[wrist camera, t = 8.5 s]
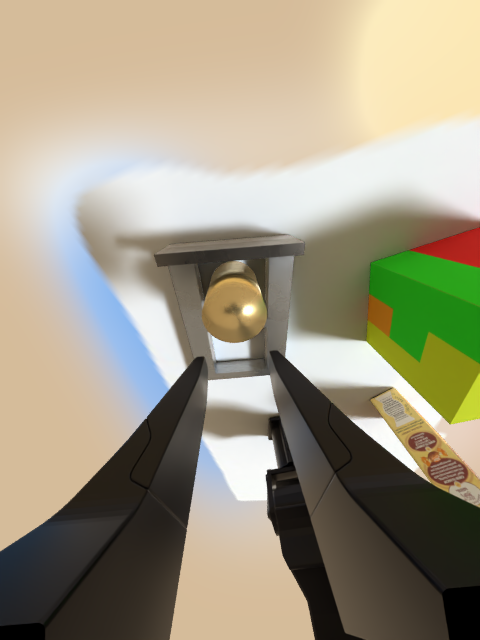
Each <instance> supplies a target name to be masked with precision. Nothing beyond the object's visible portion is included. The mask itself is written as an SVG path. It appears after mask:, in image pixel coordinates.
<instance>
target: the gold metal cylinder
mask: <svg viewBox="0 0 480 640" xmlns="http://www.w3.org/2000/svg"><path fill="white" fill-rule="evenodd" d="M266 320H267V309H266V306H265V303H264V300H263V297H262V294H261V291H260V288H259V285H258V282H257V279H256V276H255V274H254V272H253V270H252V269H251V268H250V267H249V266H247V265H246V264H244V263H242V262H237V261H230V262H226V263H223V264H222V265H220V266H219V267H217V269H216V270H215V271H214V273H213V275H212V277H211V281H210V284H209V288H208V291H207V295H206V298H205V302H204V305H203V309H202V321H203V324H204V326H205V328H206V329H207V331H208V332H209V333H210V334H211V335H212V336H214V337H215V338H217V339H219V340H221V341H225V342H230V343H238V342H244V341H247V340H249V339H252V338H253V337H255V336H256V335H257V334H259V332H260V331H261V330H262V329H263V327H264V326H265V323H266Z"/></svg>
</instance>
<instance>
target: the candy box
mask: <svg viewBox="0 0 480 640" xmlns="http://www.w3.org/2000/svg"><path fill="white" fill-rule="evenodd" d="M370 401H371V402H372V404H373V405H374V406H375V408H376V409H377V410H378V412H379V413H380V414H381V416H382V417H383V418H384V420H385V421H386V423H387V424H388V425H389V427H390V428H391V429H392V431H393V432H394V433H395V435H396V436H397V437H398V439H399V440H400V442H401V443H402V444H403V446H404V447H405V448H406V450H407V451H408V452H409V454H410V455H411V456H412V458H413V459H414V461H415V462H416V463H417V465H418V466H419V467H420V469H421V470H422V471H423V473H424V474H425V475H426V477H427V478H428V480H429V481H430V482H431V484H433V485H435V486H437V487H438V488H440V489H442V490H444V491H446V492H448V493H450V494H453V495H455V496H457V497H459V498H461V499H463V500H465V501H467V502H469V503H471V504H473V505H475V506H478V507H480V478H479V477H478V476H477V475H476V474H475V473H474V472H473V470H472V469H471V468H470V467H469V466H468V465H467V464H466V463H465V462H464V461H463V460H462V458H461V457H460V456H459V455H458V454H457V453H456V452H455V451H454V450H453V449H452V448H451V447H450V446H449V445H448V443H446V441H445V440H444V439H443V438H442V437H441V436H440V435H439V434H438V433H437V432H436V431H435V430H434V428H433V427H432V426H431V425H430V424H429V423H428V422H427V421H426V420H425V419H424V418H423V417H422V416H421V415H420V414H419V413H418V412H417V411H416V409H415V408H414V407H413V406H412V405H411V404H410V403H409V402H408V401H407V400H406V399H405V398H404V397H403V396H402V395H401V394H400V393H399V392H398V391H397V390H396V389H395V388H392V389H390V390H388V391H386V392H384V393H382V394H381V395H379V396H377V397H375V398H372V399H371V400H370Z"/></svg>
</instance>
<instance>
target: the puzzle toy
mask: <svg viewBox="0 0 480 640" xmlns="http://www.w3.org/2000/svg"><path fill="white" fill-rule="evenodd" d="M366 341H367V342H368V343H369V344H370V345H371V346H372V347H373V348H374V349H375V350H376V351H377V352H378V353H379V354H380V355H381V356H382V357H383V358H384V359H385V360H386V361H387V362H388V363H389V364H390V365H391V366H392V367H393V368H394V369H395V370H396V371H397V372H398V373H399V374H400V375H401V376H402V377H403V378H404V379H405V380H406V381H407V382H408V383H409V384H410V385H411V386H412V387H413V388H414V389H415V390H416V391H417V392H418V393H419V394H420V395H421V396H422V397H423V398H424V399H425V400H426V401H427V402H428V403H429V404H430V405H431V406H432V407H433V408H434V409H435V410H436V411H437V412H438V413H439V414H440V415H441V416H442V417H443V418H444V419H445V420H446V421H447V422H448V423H449V424H455V423H460V422H465V421H470V420H475V419H480V227H479V228H476V229H473V230H470V231H467V232H464V233H460V234H457V235H454V236H451V237H448V238H445V239H442V240H439V241H436V242H433V243H430V244H427V245H424V246H420V247H417V248H414V249H411V250H408V251H405V252H402V253H399V254H396V255H393V256H390V257H387V258H384V259H380V260H377V261H374V262H371V268H370V286H369V304H368V322H367V340H366Z"/></svg>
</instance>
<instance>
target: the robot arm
mask: <svg viewBox="0 0 480 640" xmlns="http://www.w3.org/2000/svg"><path fill="white" fill-rule="evenodd" d="M268 365H269V371H270V377H271V383H272V388H273V394H274V398H275V402H276V405H277V409H278V412H279V415H280V417H276V418H270V419H269V424H268V439H269V440H273V444H274V450H275V455H276V460H277V466H278V469H273V470H271V469H269V470H267V474H266V482H267V514H268V518H269V519H270V520H271V522H272V524H273V527H274V531H275V533H276V535H277V536H279V537H280V543H281V549H282V554H283V557H284V559H285V561H286V563H287V565H288V567H289V569H290V570H291V572H292V573H293V575H294V577H295V579H296V581H297V583H298V585H299V587H300V588H301V590H302V592H303V594H304V596H305V598H306V600H307V602H308V606H309V611H310V616H311V622H312V627H313V632H314V637H315V640H480V507H478V506H475V505H473V504H471V503H469V502H467V501H465V500H463V499H461V498H459V497H457V496H455V495H453V494H450V493H448V492H446V491H444V490H442V489H440V488H438V487H437V486H435V485H433V484H431V483H430V482H428V481H426V480H425V479H423V478H422V477H420V476H419V475H417V474H416V473H415V472H413V471H412V470H411V469H409V468H408V467H407V466H405V465H404V464H403V463H402V462H401V461H399V460H398V459H397V458H396V457H394V456H393V455H392V454H391V453H390V452H388V451H387V450H386V449H385V448H383V447H382V446H381V445H380V444H379V443H377V442H376V441H375V440H374V439H372V438H371V437H370V436H369V435H368V434H366V433H365V432H364V431H363V430H362V429H360V428H359V427H358V426H357V425H356V424H355V423H353V422H352V421H351V420H350V419H349V418H348V417H347V416H346V415H345V414H343V413H342V412H341V411H340V410H339V409H338V408H337V407H336V406H335V405H334V404H333V403H331V401H330V400H329V399H328V398H327V397H326V396H325V395H324V394H322V393H321V392H320V391H319V390H318V389H317V388H316V387H315V386H314V385H313V384H312V383H311V382H310V381H309V380H308V379H307V378H306V377H305V376H304V375H303V374H302V373H301V372H300V371H299V370H298V369H297V368H296V367H294V366H293V365H292V364H291V363H290V362H289V361H288V360H287V359H286V358H285V357H284V356H283V355H282V354H281V353H280V352H279V351H278V350H271V351H269V360H268ZM207 387H208V367H207V362H206V358H205V357H204V356H199V357H196V358H195V359H194V360H193V361H192V363H191V364H190V365H189V366H188V367H187V369H186V370H185V371H184V372H183V374H182V375H181V376H180V377H179V378H178V380H177V381H176V382H175V383H174V385H173V386H172V387H171V388H170V389H169V391H168V392H167V393H166V394H165V396H164V397H163V398H162V399H161V400H160V402H159V403H158V404H157V405H156V407H155V408H154V409H153V410H152V411H151V413H150V414H149V415H148V416H147V419H145V420H144V421H143V422H142V424H141V425H140V426H139V427H138V428H137V430H136V431H135V432H134V433H133V434H132V435H131V437H130V438H129V439H128V440H127V441H126V442H125V443H124V444H123V446H122V447H121V448H120V449H119V450H118V451H117V452H116V453H115V454H114V456H112V458H111V459H110V460H109V461H108V462H107V463H106V464H105V465H104V466H103V467H102V468H101V469H100V470H99V471H98V472H97V473H96V474H95V475H94V476H93V477H92V479H91V480H90V481H89V482H88V483H87V484H86V485H85V486H84V487H83V488H82V489H81V490H80V491H79V492H78V493H77V494H76V495H75V497H73V498H72V499H71V500H70V501H69V502H68V503H67V504H66V505H65V506H64V507H63V508H62V509H61V510H59V511H58V512H57V513H56V514H55V515H53V516H52V517H51V518H50V519H48V520H47V521H46V522H44V523H43V524H41V525H40V526H39V527H37V528H35V529H34V530H32V531H31V532H29V533H28V534H26V535H25V536H23V537H22V538H20V539H19V540H17V541H16V542H14V543H12V544H11V545H9V546H8V547H6V548H5V549H4V550H2V551H0V640H169V639H170V633H171V627H172V620H173V614H174V608H175V601H176V595H177V589H178V582H179V575H180V570H181V563H182V557H183V551H184V544H185V538H186V532H187V529H186V528H187V525H188V519H189V512H190V506H191V500H192V494H193V487H194V481H195V475H196V468H197V462H198V456H199V449H200V443H201V437H202V430H203V424H204V418H205V411H206V404H207Z"/></svg>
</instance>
